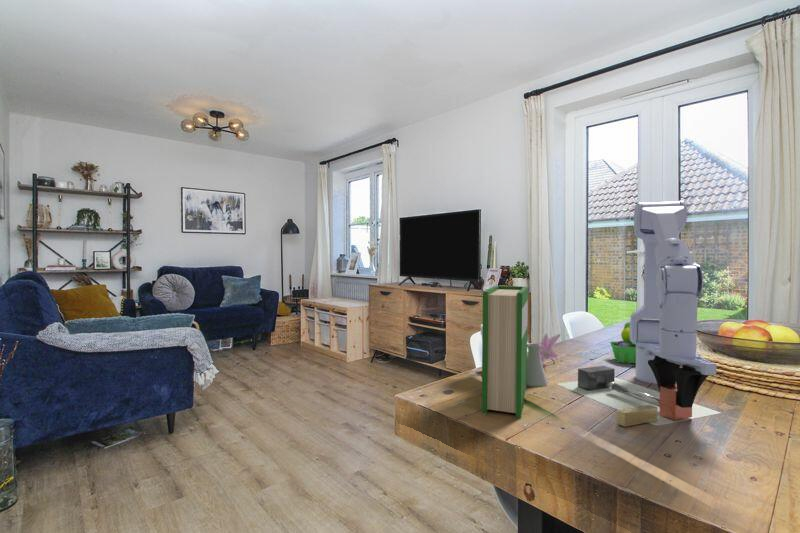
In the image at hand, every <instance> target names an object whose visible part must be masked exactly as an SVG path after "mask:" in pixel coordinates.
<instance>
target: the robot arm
mask: <svg viewBox="0 0 800 533" xmlns="http://www.w3.org/2000/svg"><path fill="white" fill-rule="evenodd" d="M687 220H688V205H687V203H686V202H685V201H684V200H678V201H677V200H675V201H660V202H659V201H658V202H657V201H656V202H653V201H652V202H638V201H637V203H636V204H635V206H634V210H633V233H634V237H635V238H637V239H638V238H639V239H640V240H641V241H642V243H643V246H644V256H643V258H644V261H643V262H644V265H643V266H644V268H643V270H644V271H643V276H644V278H643V305H641V306H640V307H639V308H637V309H635V310H634V311H632V312H631V314H630V320H629V322H630V328H629V333H630V341H631V342H632V343H633V344H635V345H636V364H635V378H636V379H637V380H639V381H642V382H645V383H648V384H649V383H650V384H656V385H657V388H658V390H659V391H658V392H660V386H665V385H672V384H676V385H677V395H678V404H679V406H680V407H682V408H688V407H692V405H693V403H694V402H695V399H696V396H697V394H698V392H699V390H700V387H701V386H702V385H703V383H704V382H705V380H707V378H708V377H709V376H717V363H715V362H713V361H709V360H708V359H706V358H703V357H702V356H701V353H698V352H697V341H698V340H697V338H698V336H697V335H698V334H697V333H698V325H697V324H698V297H699V298H700V296H701V295H702V293H703V286H704V275H703V274H704V273H703V271H702V270H703V269H702V267H701V265H700V264H698V263H697V261H696V262H695V261H693V258H692V255H691V252H690V248H689V245H688V244H687V242H685V241H684V240H682V239H680V233H681V232H682V231H683V229H684V228H685V226H686V224H687ZM681 366H682V367H681Z"/></svg>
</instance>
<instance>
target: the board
mask: <svg viewBox="0 0 800 533" xmlns="http://www.w3.org/2000/svg"><path fill="white" fill-rule="evenodd" d="M614 382H615V383H616V384H619V385H622V386H625V387H628V388H631V389H634V390H637V391H639V392H642V393H645V394H648V395H651V396H654V397H657V398H659V399H660V392H659V391H657V390H654V389H651V388H648V387H646V386H642V385H639V384H636V383H633V382H630V381H627V380H624V379H621V378H618V377H616V376H615V378H614ZM556 385H557V386H560V387H562V388H565V389H567V390H569V391H572V392H575V393H577V394H578V395H581V396H583V397H587V398H589V399H591V400H593V401H596V402H598V403H601V404H603V405H605V406H608V407H610V408H612V409H615V410H616V411H617V410H621V409H627V408H633V407H639V406H644V405H652V404H649V403H646V402H644V401H641V400H638V399H636V398H633V397H630V396H628V395H625V394H622V393H619V392H617V391H614V390H610V389H609V388H605V389H598V390H591V391H587V390H584V389H582V388H579V387H578V380H575V381H567V382H560V383H558V382H557V383H556ZM652 406H655V405H652ZM655 407H657V406H655ZM719 414H722V412H720V411H717V410H714V409H711V408H708V407H705V406H702V405H699V404H696V403H694V402H693V405H692V417H690V418H685V419H680V420H673V419H670V418H668V417H665V416H663V415H660V407H658V414H657V421H652V422H647V423H648V424H651V425H653V426H655V427H659V426H665V425H670V424H674V423H678V422H679V423H680V422H683V421H690V420H693V419H700V418H704V417H710V416H715V415H719Z"/></svg>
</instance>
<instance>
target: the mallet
mask: <svg viewBox="0 0 800 533" xmlns="http://www.w3.org/2000/svg"><path fill="white" fill-rule="evenodd" d="M608 388H609V389H610V390H614V391H617V392H619V393H622V394H625V395H628V396H630V397H633V398H636V399H638V400H641V401H644V402H646V403H649V404H652V405H655V406H657V407H660V415H663V416H665V417H668V418H670V419H673V420H680V419H685V418H690V417H692V407H688V408H682V407H680V406H679V404H678V395H677V385H676V384H672V385H665V386H660V399H659V398H657V397H654V396H651V395H648V394H645V393H642V392H639V391H637V390H634V389H631V388H628V387H625V386H622V385H619V384H616V383H615V382H609V383H608Z"/></svg>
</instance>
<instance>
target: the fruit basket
mask: <svg viewBox="0 0 800 533" xmlns="http://www.w3.org/2000/svg"><path fill="white" fill-rule="evenodd" d="M629 328H630V321H628V322H626V323H625V324H624V326H623V329H622V330H621V334H620V336H621V339H622V340H619V341H610V342H609V343H610V346H611V350H612V352H613V356H614V359H615V358H616V359H615V360H616V361H617V362H618V363H619V362H627V363H626V364H630V363H636V345H635V344H633V343H632V342H631V341H630V333H629Z"/></svg>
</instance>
